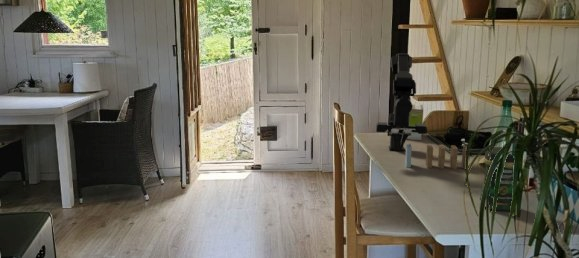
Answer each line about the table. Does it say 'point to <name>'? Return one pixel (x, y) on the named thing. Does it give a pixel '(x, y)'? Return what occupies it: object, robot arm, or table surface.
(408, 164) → the blue-grey rectangular block
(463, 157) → the domino
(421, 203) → the table surface
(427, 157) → the domino
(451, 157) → the domino
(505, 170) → the coffee jar
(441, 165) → the domino
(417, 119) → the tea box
